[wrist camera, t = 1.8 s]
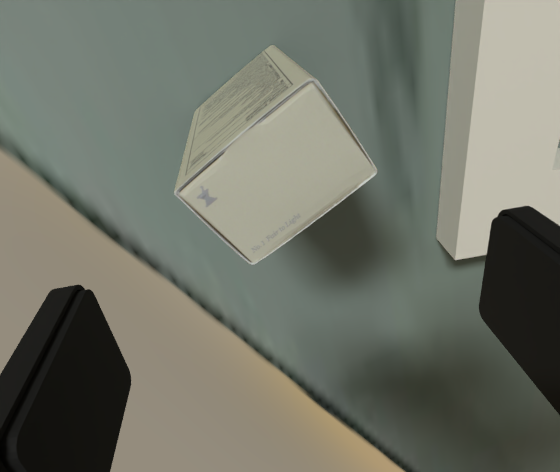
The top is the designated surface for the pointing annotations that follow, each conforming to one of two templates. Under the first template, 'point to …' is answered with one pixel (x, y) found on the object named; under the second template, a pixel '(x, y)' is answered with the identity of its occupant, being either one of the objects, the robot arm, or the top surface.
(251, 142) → the skincare box
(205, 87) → the top surface
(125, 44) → the top surface
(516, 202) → the box stand
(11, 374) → the robot arm
